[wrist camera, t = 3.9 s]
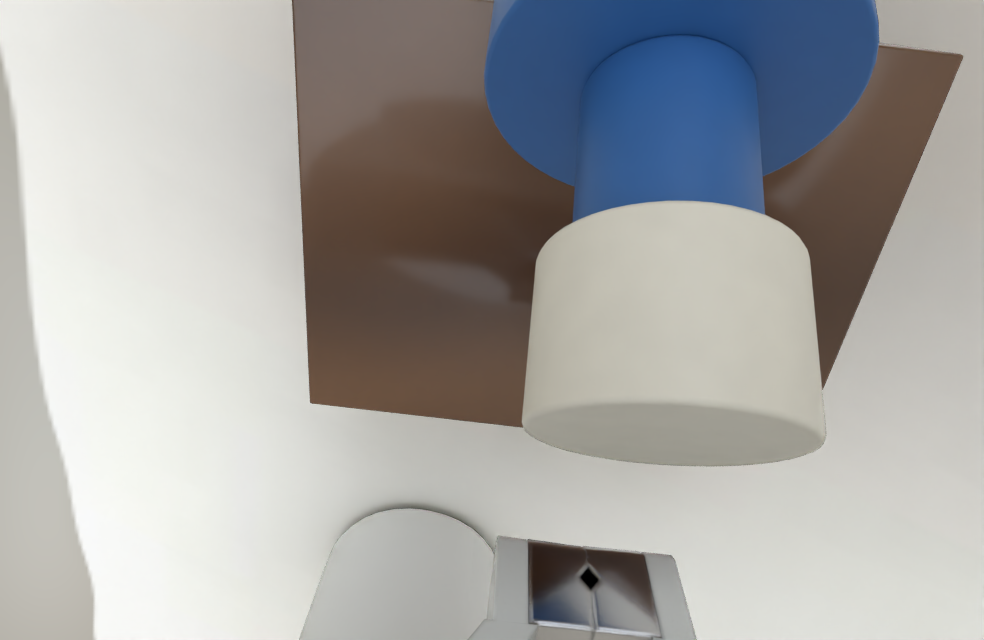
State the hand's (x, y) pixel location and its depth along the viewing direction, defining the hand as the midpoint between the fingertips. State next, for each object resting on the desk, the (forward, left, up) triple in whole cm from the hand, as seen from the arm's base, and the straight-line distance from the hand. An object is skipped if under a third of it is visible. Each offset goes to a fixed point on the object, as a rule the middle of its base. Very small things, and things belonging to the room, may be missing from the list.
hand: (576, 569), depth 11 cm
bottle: (-10, 0, -12) cm, 16 cm away
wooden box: (-3, 0, -12) cm, 12 cm away
